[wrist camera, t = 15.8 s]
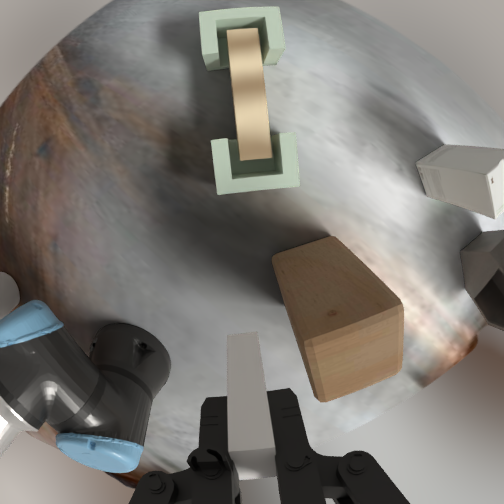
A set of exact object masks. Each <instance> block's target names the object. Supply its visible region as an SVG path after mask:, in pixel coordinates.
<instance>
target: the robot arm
mask: <svg viewBox="0 0 504 504" xmlns="http://www.w3.org/2000/svg"><path fill="white" fill-rule="evenodd" d="M63 325H64V324H63V323H62V322H61V321H59V320H58V318H57V317H56V316H55V315H54V314H53V312H52V311H51V310H50V308H49V307H48V306H47V305H46V304H45V303H44V302H43V301H40V300H32V301H29V302H27V303H26V304H24V305H22V306H20V307H19V308H17V309H16V310H14V311H12V312H11V313H9V314H8V315H6V316H5V317H3V318H2V319H0V458H1V457H2V455H3V454H4V453H5V451H6V450H7V448H8V447H9V446H10V445H11V444H12V442H13V441H14V439H15V438H16V437H17V436H18V434H19V433H20V432H21V431H38V430H39V428H40V427H41V426H42V425H43V423H44V422H45V421H46V422H47V423H48V424H49V425H51V426H52V427H53V428H54V429H55V430H56V431H57V432H58V434H57V435H56V445H57V447H58V448H59V449H60V451H61V452H63V453H64V454H65V455H67V456H68V457H70V458H71V459H73V460H75V461H77V462H79V463H82V464H84V465H86V466H89V467H92V468H95V469H98V470H102V471H107V472H114V473H125V472H130V471H132V470H134V469H135V468H136V467H137V465H138V463H139V460H140V456H141V453H142V451H143V447H144V441H145V436H146V431H147V425H148V420H149V415H150V410H151V406H152V401H153V399H154V398H155V396H156V395H157V394H158V392H159V391H160V390H161V388H162V387H163V386H164V385H165V383H166V382H167V380H168V377H169V373H170V369H171V360H170V357H169V354H168V352H167V350H166V349H165V347H164V346H163V345H162V343H161V342H160V341H159V340H158V339H156V338H155V337H154V336H153V335H151V334H150V333H148V332H146V331H145V330H143V329H140V328H138V327H135V326H132V325H128V324H111V325H107V326H105V327H103V328H102V329H100V330H99V331H98V333H97V334H96V336H95V338H94V339H93V341H92V343H91V347H90V356H89V357H88V356H87V355H86V354H85V353H84V352H83V350H82V349H81V348H80V347H79V346H78V344H77V343H76V342H75V341H74V339H73V338H72V337H71V335H70V334H69V333H68V332H67V330H66V329H65V328H64V326H63ZM187 463H188V464H189V466H190V468H188V469H186V470H184V471H180V472H176V473H172V474H166V473H164V472H162V471H152V472H148V473H146V474H145V475H143V476H142V478H141V479H140V481H139V483H138V485H137V487H136V489H135V491H134V493H133V496H132V498H131V500H130V502H129V504H242V497H241V491H240V488H239V480H246V479H257V478H267V477H275V476H277V479H278V487H279V494H280V500H281V504H326V501H325V498H332V499H333V500H334V502H335V504H410V503H409V502H408V500H407V499H406V498H405V497H404V495H403V494H402V493H401V492H400V490H399V489H398V488H397V487H396V486H395V484H394V483H393V482H392V480H391V479H390V478H389V477H388V475H387V474H386V473H385V472H384V470H383V469H382V468H381V466H380V465H379V464H378V463H377V461H376V460H375V459H374V457H373V456H371V455H370V454H369V453H367V452H364V451H353V452H349V453H347V454H346V455H344V456H343V457H334V456H323V455H320V454H318V453H316V452H315V451H313V449H312V448H311V447H310V445H309V443H308V439H307V435H306V431H305V427H304V423H303V419H302V416H301V411H300V408H299V403H298V399H297V396H296V395H295V394H294V393H293V391H292V390H291V389H290V388H287V389H280V390H273V391H266V385H265V378H264V372H263V365H262V358H261V352H260V345H259V338H258V332H251V333H243V334H234V335H227V396H223V397H208V398H206V399H205V401H204V403H203V405H202V406H201V419H200V432H199V448H197V449H195V450H193V451H192V452H191V454H190V455H189V456H188V459H187Z"/></svg>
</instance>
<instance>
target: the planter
mask: <svg viewBox="0 0 504 504" xmlns="http://www.w3.org/2000/svg"><path fill="white" fill-rule="evenodd" d="M460 255H461V261H462V268H463V275H464V282H465V289H466V291H467V292H468V294H469V295H470V297H471V298H472V300H473V301H474V303H475V304H476V306H477V307H478V309H479V310H480V312H481V314H482V315H483V317H484V318H485V320H486V322H487V323H488V325H490V326H493V327H495V328H498V329H500V330H502V331H504V230H498V231H486V232H482V233H481V234H480V235H479V236H478V237H477V238H476V239H474V240H473V241H472V242H471V243H470V244H469V245H468V246H466V247H465V248H464V249H463V250H462V251H461V252H460Z"/></svg>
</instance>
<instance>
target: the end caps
mask: <svg viewBox="0 0 504 504" xmlns="http://www.w3.org/2000/svg"><path fill="white" fill-rule="evenodd" d="M199 22H200V35H201V47H202V56H203V59H204V62H205V65H206V69H207V71H210V70H218V69H227V68H229V59H228V49H227V30H234V29H248V28H258V34H259V42H260V50H261V58H262V66H266V65H276V64H277V62H278V61H279V59H280V57H281V56H282V54H283V52H284V50H285V49H286V48H285V41H284V34H283V28H282V22H281V16H280V10H279V7H246V8H232V9H221V10H212V11H204V12H199ZM270 139H271V149H272V158H264V159H253V160H244V161H240V160H239V153H238V143H237V139H232V140H228V138H224V139H216V140H211V146H212V155H213V163H214V171H215V179H216V187H217V195H222V194H230V193H239V192H248V191H257V190H266V189H277V188H288V187H299V186H300V181H299V167H298V155H297V143H296V132H294V133H279V134H276V135H273V136H270Z"/></svg>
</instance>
